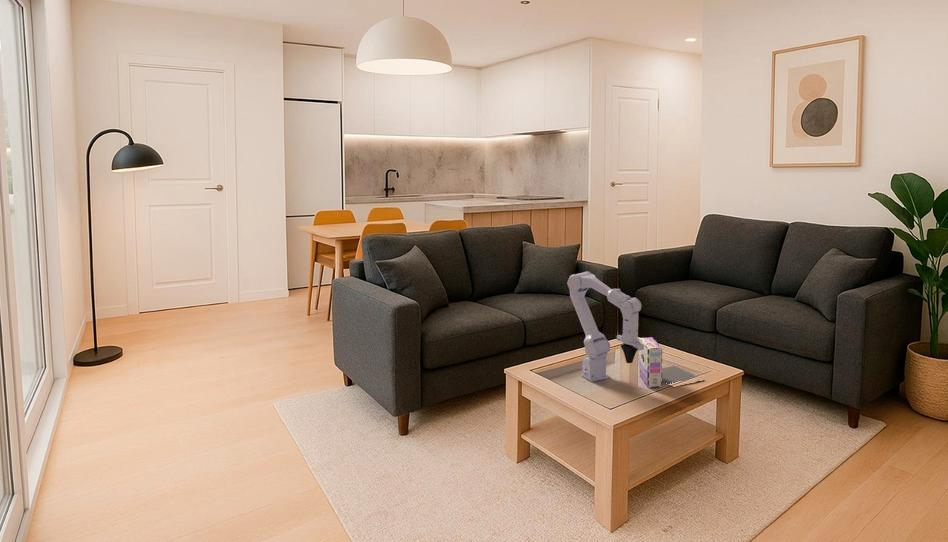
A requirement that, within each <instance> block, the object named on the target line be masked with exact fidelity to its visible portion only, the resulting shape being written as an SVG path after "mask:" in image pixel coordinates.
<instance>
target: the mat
mask: <svg viewBox="0 0 948 542" xmlns="http://www.w3.org/2000/svg"><path fill="white" fill-rule="evenodd" d="M695 377H699V376H698V375H695V374H694V373H691V372H689V371H687V370H684V369H682V368H680V367H677V366H676V365H672V366H668V367H662V384H663V383H664V384H665V383H667V384H670V383H671V384H672V382H673V383H675V382H678V381H686V380H689V379H692V378H695ZM667 384H666V385H667Z"/></svg>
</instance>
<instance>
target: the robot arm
mask: <svg viewBox="0 0 948 542" xmlns="http://www.w3.org/2000/svg"><path fill="white" fill-rule="evenodd" d="M566 284H567V287H568V289H569V296H570V300H571V302H572V305H573V307H574V309H575V312H576V314H577V317H578V319H579V322H580V325H581V327H582V329H583V332H584V334H585V338H584V340H583V345H584V351H585V354H586V355H587V357H584V358H583V359H582V360H581V374H580V376H581V377H583V378H584V379H586V380H588V381H589V382H596V381H601V380H607V379H610V378H611V376H610V375H608V374H607V356H608V353H609V352H610V350H611V344H610V341H609V340H608V339H607V338H606V336H605V334H604V333H602V332H600V331H599V328H598V327H597V323H596V322H595V319H594V317H593V314H592V311H591V310H590V307H589V304H588V302H587V300H586V298H585V296H586V293H587V291H588V290H589V289H592V290H594V291H596V292H598V293H600V294H602V295H603V296H606V298H607V301H608V302H610V303H611V304H612V305H614V306H615V307H617V308H618V309H620V312H621V315H622V334H617V335H616V341H619V342H621V343H622V344H621V345H620V348H621V350H622V351H623V355H624V358H625V362H626V364H632V363H634V358H635V356H636V353H637V352H638V351H639V350H644V345H643V344H641V343H640V342H639V341H640V339H639V337H638V336H639V312H640V311H641V310H642V308H643V307H642V303H641V301H640V300H639V298H638V297H631V296H630V295H627V294H626V293H624V292H622V291H621V288H611V287H609V286H608V285H607V284H605V283H603V282H602V280H599V279H598V278H597V276H596V275H595V274H593V273H592V272H591V271H584V272H580V273H575V274H571V275H569V278H568V280H567V282H566Z"/></svg>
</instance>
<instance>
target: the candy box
mask: <svg viewBox="0 0 948 542" xmlns="http://www.w3.org/2000/svg"><path fill="white" fill-rule="evenodd" d="M638 339H640V341H639V342H640V343H641V344H643V345H644V350H638V356H639V359H638V360H639V377H640V378H641V380H642V381H643V383H644V384H645V385H646V387H647V388H649V389H650V388H651V389H652V388H662V387H663V382H662V368H663V347H662V346H661V345H660V344H659V343H658V342H657V340H656V339H655V338H654V337H652V336H651V337H638Z"/></svg>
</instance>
